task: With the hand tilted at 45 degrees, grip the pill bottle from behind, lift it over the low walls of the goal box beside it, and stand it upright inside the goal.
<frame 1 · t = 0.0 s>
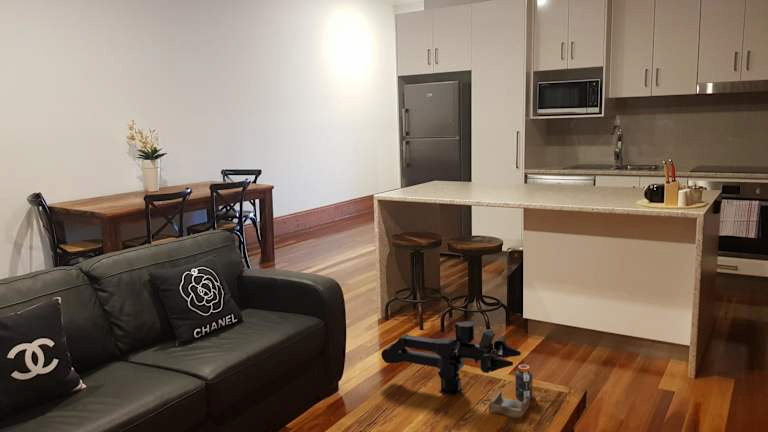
hand: (516, 358, 206), 17 cm above the table, tool horizontal, fingers open, 9 cm apart
goal box: (509, 408, 205), on the table
pill bottle: (524, 396, 213), on the table
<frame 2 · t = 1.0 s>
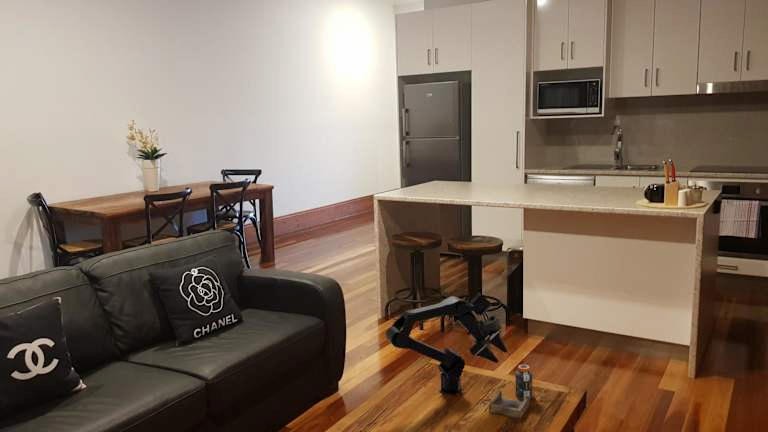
hand: (502, 357, 214), 14 cm above the table, tool tilted 45°, fingers open, 9 cm apart
nothing on the table moved.
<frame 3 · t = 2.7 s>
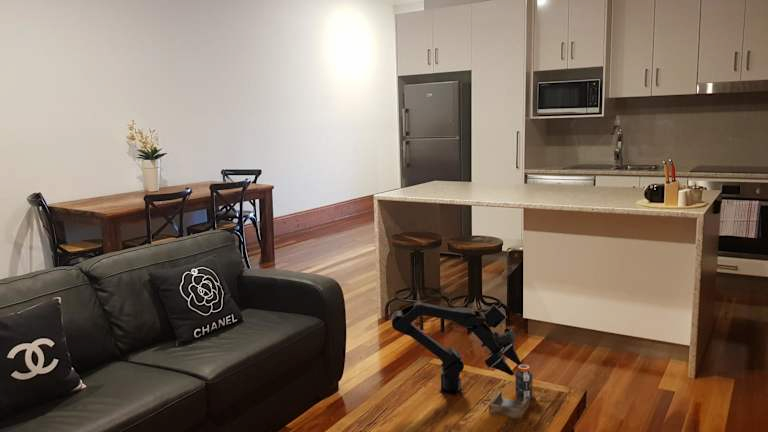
hand: (516, 369, 213), 10 cm above the table, tool tilted 45°, fingers open, 9 cm apart
nothing on the table moved.
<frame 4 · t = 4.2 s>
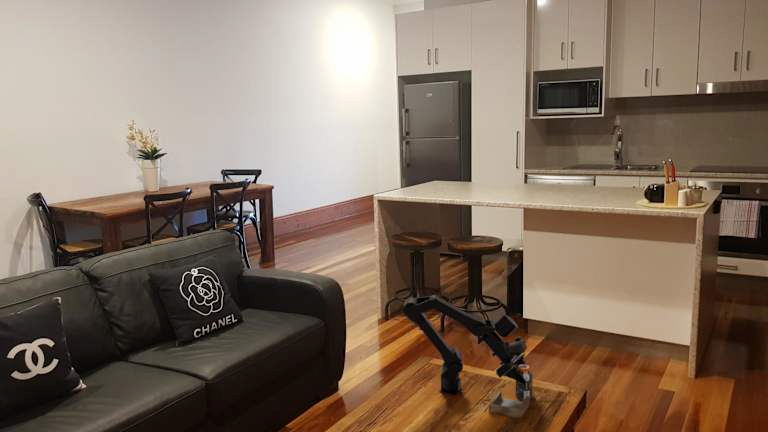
hand: (527, 379, 211), 7 cm above the table, tool tilted 45°, fingers closed on pill bottle, 6 cm apart
pill bottle: (524, 396, 213), on the table, touching gripper
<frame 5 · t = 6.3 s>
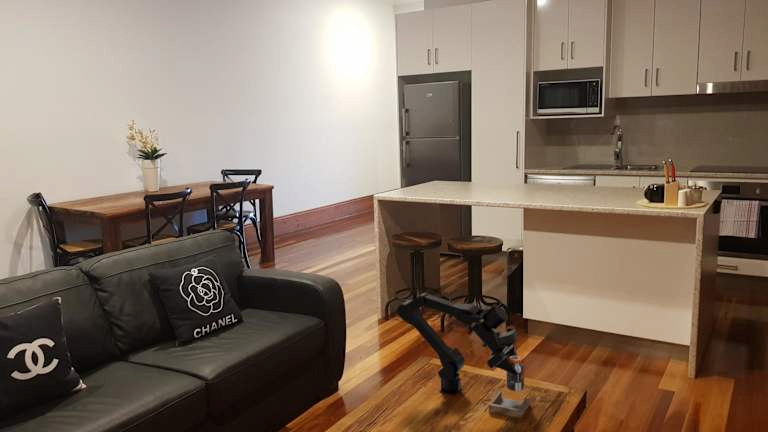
hand: (519, 370, 206), 12 cm above the table, tool tilted 45°, fingers closed on pill bottle, 6 cm apart
pill bottle: (515, 388, 208), point 5 cm above the table, touching gripper
when the fingers open (8 cm above the table, at t = 8.4 s): pill bottle stays where it is, resting on goal box.
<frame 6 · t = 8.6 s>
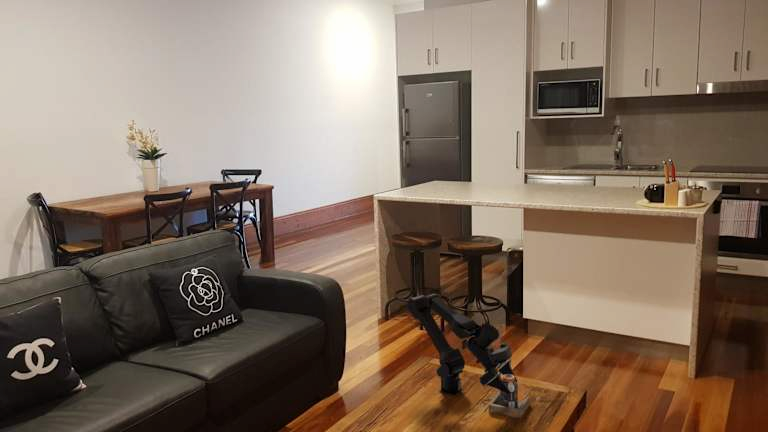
hand: (512, 387, 203), 8 cm above the table, tool tilted 45°, fingers open, 8 cm apart
pill bottle: (509, 407, 205), resting on goal box
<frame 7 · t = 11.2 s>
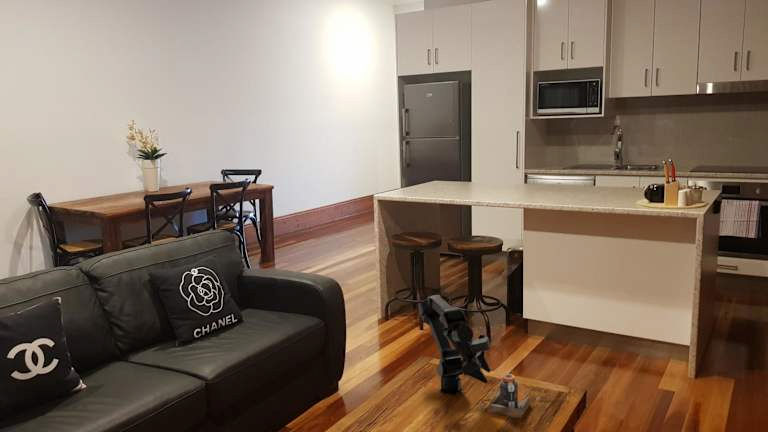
hand: (488, 377, 209), 9 cm above the table, tool tilted 40°, fingers open, 9 cm apart
nothing on the table moved.
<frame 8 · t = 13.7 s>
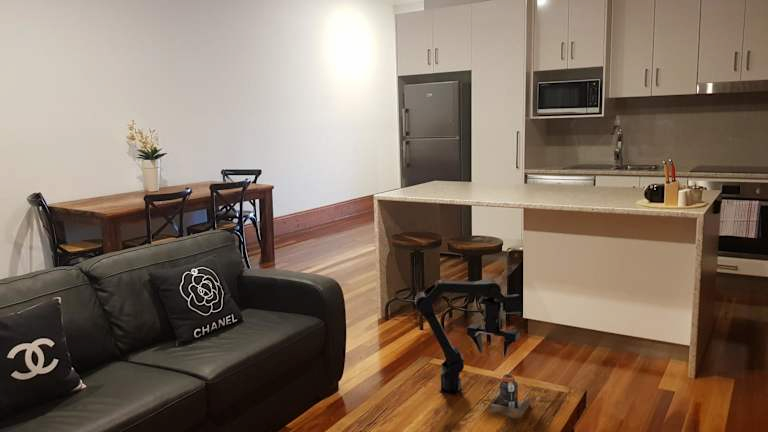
hand: (493, 354, 219), 13 cm above the table, tool pointing down, fingers open, 9 cm apart
nothing on the table moved.
at the end: pill bottle 0.4 cm off-centre on the goal box, point 0.3 cm above the goal box's base; pill bottle tilted 0°; the gripper is holding nothing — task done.
